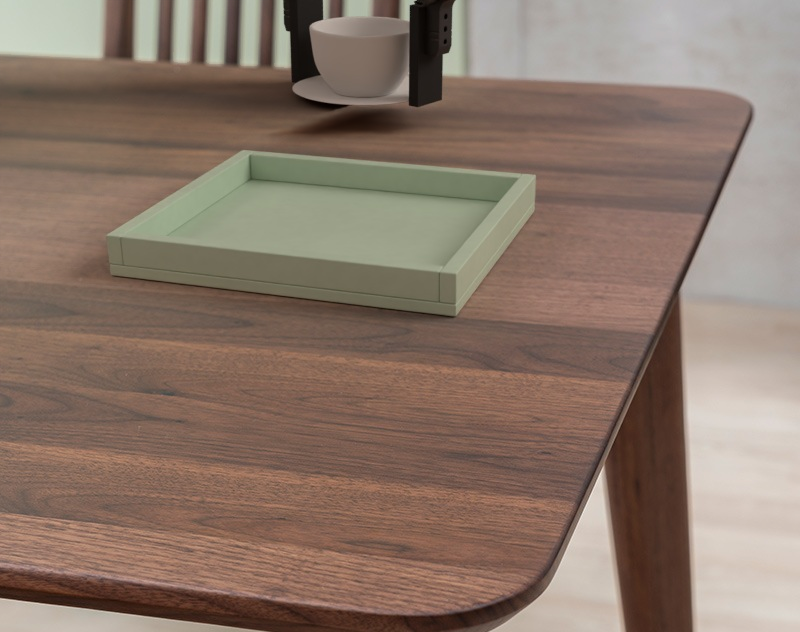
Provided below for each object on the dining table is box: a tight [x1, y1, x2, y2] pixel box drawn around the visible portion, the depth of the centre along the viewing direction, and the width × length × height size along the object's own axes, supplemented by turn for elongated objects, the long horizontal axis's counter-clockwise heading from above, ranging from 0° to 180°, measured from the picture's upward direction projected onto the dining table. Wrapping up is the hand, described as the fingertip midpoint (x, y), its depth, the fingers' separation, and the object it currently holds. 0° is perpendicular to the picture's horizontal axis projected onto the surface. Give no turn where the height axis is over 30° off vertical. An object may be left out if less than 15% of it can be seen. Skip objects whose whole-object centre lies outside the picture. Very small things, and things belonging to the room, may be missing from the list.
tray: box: [105, 149, 537, 317], centre depth 65 cm, size 18×16×2 cm
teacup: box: [291, 15, 409, 106], centre depth 87 cm, size 10×10×5 cm
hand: (364, 91), depth 88 cm, fingers closed on teacup, 10 cm apart
